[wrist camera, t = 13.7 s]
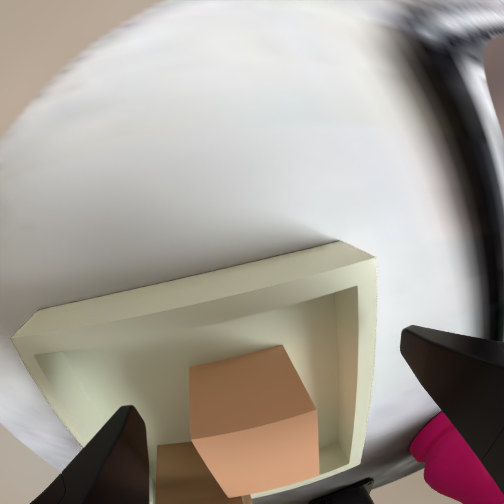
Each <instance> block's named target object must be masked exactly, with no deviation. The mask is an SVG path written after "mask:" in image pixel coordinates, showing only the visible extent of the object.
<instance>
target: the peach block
mask: <svg viewBox="0 0 504 504" xmlns="http://www.w3.org/2000/svg"><path fill="white" fill-rule="evenodd" d="M189 400H190V433H191V441H192V443H193V444H194V446H195V448H196V449H197V451H198V453H199V454H200V456H201V458H202V459H203V461H204V462H205V464H206V465H207V467H208V469H209V470H210V472H211V473H212V475H213V476H214V478H215V479H216V481H217V482H218V484H219V485H220V487H221V488H222V489H223V491H224V492H225V494H226V495H227V496H228V498H233V497H239V496H244V495H249V494H254V493H259V492H263V491H268V490H272V489H276V488H280V487H284V486H287V485H291V484H294V483H298V482H301V481H304V480H307V479H311V478H314V477H317V476H319V445H318V422H317V409H316V407H315V405H314V403H313V401H312V399H311V398H310V396H309V394H308V392H307V390H306V388H305V386H304V384H303V383H302V381H301V379H300V377H299V375H298V373H297V371H296V369H295V367H294V366H293V364H292V362H291V360H290V358H289V356H288V354H287V352H286V350H285V348H284V346H283V345H280V346H276V347H272V348H269V349H265V350H261V351H257V352H253V353H249V354H245V355H241V356H237V357H232V358H228V359H224V360H219V361H214V362H210V363H205V364H200V365H195V366H190V367H189Z"/></svg>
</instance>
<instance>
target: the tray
mask: <svg viewBox="0 0 504 504" xmlns="http://www.w3.org/2000/svg"><path fill="white" fill-rule="evenodd" d="M376 323H377V267H376V257H374V256H372V255H370V254H368V253H366V252H364V251H362V250H360V249H358V248H356V247H354V246H352V245H350V244H347V243H345V242H343V241H338V242H334V243H330V244H326V245H321V246H317V247H313V248H309V249H305V250H301V251H297V252H292V253H288V254H284V255H280V256H276V257H271V258H267V259H263V260H259V261H254V262H250V263H246V264H242V265H237V266H233V267H229V268H224V269H220V270H216V271H212V272H207V273H203V274H199V275H194V276H190V277H185V278H181V279H177V280H172V281H168V282H163V283H159V284H155V285H150V286H146V287H141V288H137V289H132V290H128V291H123V292H119V293H114V294H110V295H105V296H101V297H96V298H92V299H87V300H82V301H78V302H73V303H69V304H64V305H59V306H55V307H50V308H45V309H41V310H38V311H37V312H36V313H35V314H34V315H33V316H32V317H31V318H30V319H29V320H28V321H27V322H26V323H25V324H24V325H23V326H22V327H21V328H20V329H19V330H18V331H17V332H16V333H15V334H14V335H13V336H12V337H11V340H12V342H13V344H14V346H15V348H16V350H17V352H18V353H19V355H20V357H21V359H22V361H23V363H24V364H25V366H26V368H27V370H28V371H29V373H30V375H31V376H32V378H33V380H34V381H35V383H36V384H37V386H38V388H39V389H40V391H41V392H42V394H43V395H44V397H45V398H46V400H47V401H48V403H49V404H50V405H51V407H52V408H53V410H54V411H55V412H56V414H57V415H58V417H59V418H60V419H61V421H62V422H63V423H64V424H65V426H66V427H67V428H68V430H69V431H70V432H71V433H72V435H73V436H74V437H75V438H76V439H77V441H78V442H79V443H80V444H81V445H82V446H83V448H84V447H85V446H86V445H87V443H88V442H89V441H90V440H91V439H92V438H93V437H94V436H95V434H96V433H97V432H98V431H99V430H100V429H101V428H102V427H103V426H104V424H105V423H106V422H107V421H108V420H109V419H110V418H111V417H112V415H113V414H114V413H115V412H116V411H117V410H118V409H119V408H120V407H121V406H123V405H133V406H135V408H136V409H137V411H138V412H139V414H140V415H141V417H142V419H143V420H144V422H145V425H146V434H147V446H148V457H149V502H150V504H155V488H156V460H157V445H164V444H174V443H182V442H190V441H191V433H190V400H189V367H190V366H195V365H200V364H205V363H210V362H214V361H219V360H224V359H228V358H232V357H237V356H241V355H245V354H249V353H253V352H257V351H261V350H265V349H269V348H272V347H276V346H280V345H283V346H284V348H285V350H286V352H287V354H288V356H289V358H290V360H291V362H292V364H293V366H294V367H295V369H296V371H297V373H298V375H299V377H300V379H301V381H302V383H303V384H304V386H305V388H306V390H307V392H308V394H309V396H310V398H311V399H312V401H313V403H314V405H315V407H316V409H317V422H318V445H319V476H317V477H314V478H311V479H307V480H304V481H301V482H298V483H294V484H291V485H287V486H284V487H280V488H276V489H272V490H268V491H263V492H259V493H254V494H250V495H251V499H253V498H257V497H262V496H266V495H271V494H275V493H279V492H283V491H286V490H290V489H293V488H297V487H300V486H303V485H307V484H310V483H313V482H316V481H319V480H321V479H324V478H327V477H330V476H332V475H335V474H338V473H340V472H343V471H345V470H348V469H350V468H352V467H355V466H357V465H359V464H360V462H361V457H362V452H363V447H364V442H365V436H366V430H367V423H368V417H369V409H370V402H371V393H372V384H373V374H374V361H375V346H376Z"/></svg>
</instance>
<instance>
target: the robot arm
mask: <svg viewBox="0 0 504 504" xmlns="http://www.w3.org/2000/svg"><path fill="white" fill-rule="evenodd" d="M400 351H401V354H402V356H403V357H404V359H405V360H406V362H407V363H408V365H409V367H410V368H411V370H412V371H413V373H414V374H415V376H416V377H417V379H418V380H419V382H420V383H421V385H422V386H423V387H424V389H425V390H426V391H427V392H428V394H429V395H430V396H431V397H432V399H433V400H434V401H435V402H436V404H437V405H438V406H439V407H440V409H441V410H442V411H443V413H444V414H445V415H446V416H447V418H448V419H449V420H450V422H451V423H452V424H453V425H454V427H455V428H456V429H457V431H458V432H459V433H460V435H461V436H462V437H463V439H464V440H465V441H466V443H467V444H468V445H469V447H470V448H471V449H472V451H473V452H474V453H475V455H476V456H477V457H478V459H479V460H480V461H481V463H482V465H483V466H484V467H485V469H486V470H487V472H488V473H489V474H490V476H491V477H492V479H493V480H494V482H495V483H496V484H497V486H498V487H499V489H500V490H501V492H502V493H503V495H504V342H497V341H493V340H487V339H481V338H476V337H471V336H465V335H460V334H455V333H450V332H445V331H440V330H435V329H430V328H425V327H420V326H415V325H411V326H408V327H406V328H404V329H403V330H402V332H401V343H400ZM373 483H374V480H373V478H370V479H367V480H365V481H363V482H361V483H358V484H356V485H354V486H351V487H349V488H347V489H344V490H342V491H339V492H336V493H334V494H331V495H328V496H326V497H323V498H320V499H317V500H314V501H311V502H309V503H308V504H374V502H373V500H372V499H371V497H370V495H369V494H370V491H371V489H372V486H373ZM30 504H150V502H149V457H148V446H147V434H146V425H145V422H144V420H143V419H142V417H141V415H140V414H139V412H138V411H137V409H136V408H135V406H133V405H123V406H121V407H120V408H119V409H118V410H117V411H116V412H115V413H114V414H113V415H112V417H111V418H110V419H109V420H108V421H107V422H106V423H105V424H104V426H103V427H102V428H101V429H100V430H99V431H98V432H97V433H96V434H95V436H94V437H93V438H92V439H91V440H90V441H89V442H88V443H87V445H86V446H85V447H84V448H83V449H82V450H81V451H80V452H79V453H78V455H77V456H76V457H75V458H74V459H73V460H72V461H71V462H70V463H69V465H68V466H67V467H66V468H65V469H64V470H63V471H62V474H59V476H58V477H57V478H56V479H55V480H54V481H53V482H52V483H51V484H50V485H49V487H47V488H46V489H45V490H44V491H43V492H42V493H41V494H40V495H39V496H38V497H37V498H36V499H34V501H32V502H31V503H30Z"/></svg>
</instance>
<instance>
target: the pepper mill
mask: <svg viewBox="0 0 504 504" xmlns="http://www.w3.org/2000/svg"><path fill="white" fill-rule="evenodd" d="M409 450H410V453H411V454H412V455H413V456H414V458H415V459H416V460H417V462H425V469H424V479H425V481H426V483H427V484H428V485H429V486H430V487H431V488H432V489H434V490H435V491H437V492H438V493H440V494H443V495H445V496H448V497H450V498H453V499H455V500H457V501H460V502H461V503H463V504H504V495H503V493H502V492H501V490H500V489H499V487H498V486H497V484H496V483H495V482H494V480H493V479H492V477H491V476H490V474H489V473H488V472H487V470H486V469H485V467H484V466H483V465H482V463H481V461H480V460H479V459H478V457H477V456H476V455H475V453H474V452H473V451H472V449H471V448H470V447H469V445H468V444H467V443H466V441H465V440H464V439H463V437H462V436H461V435H460V433H459V432H458V431H457V429H456V428H455V427H454V425H453V424H452V423H451V422H450V420H449V419H448V418H447V416H446V415H445V414H444V413H443V411H442V412H441V413H439V414H438V415H437V416H436V417H435V418H433V419H432V420H431V421H430V422H429V423H428V424H427V425H426V426H425V427H424V428H423V429H422V430H421V431H420V432H419V433H418V434H417V436H416V437H415V438H414V440H413V441H412V443H411V445H410V449H409Z"/></svg>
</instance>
